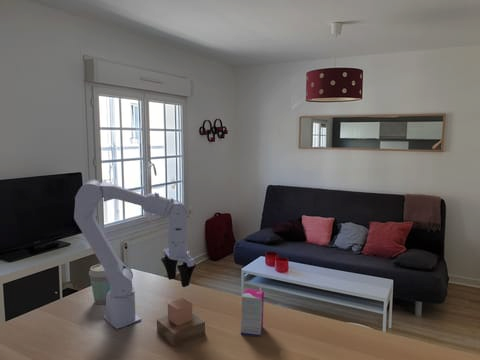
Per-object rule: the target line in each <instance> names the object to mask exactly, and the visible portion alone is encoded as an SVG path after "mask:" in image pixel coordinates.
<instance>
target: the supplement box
mask: <svg viewBox="0 0 480 360" xmlns="http://www.w3.org/2000/svg"><path fill="white" fill-rule="evenodd" d="M264 299H265V291H264V290H262V289H261V290H259V289H252V288H251V289H250V288H246V289H245V290H244V292H243V294H242V296H241V316H240V317H241V319H240V320H241V321H240V335H241V336H252V337H261V333H262V330H263V328H264V303H265V302H264Z"/></svg>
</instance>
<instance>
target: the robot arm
mask: <svg viewBox="0 0 480 360" xmlns="http://www.w3.org/2000/svg"><path fill="white" fill-rule="evenodd" d="M102 199H103V202H104V203H105V202H108V201H113V200H117V201H121V202H126V203H130V204H134V205H137V206H141V207H142V210H143V211H144V212H146V213H148V214H152V215H154V216H158V217H163V218H168V226H167V236H168V238H167V241H168V243H167V244H168V246H167V248H164V249H162V255H163V256H164V257H161V258H160V261H161V262H162V264H163V266H164V268H165V271H166V274H167V278H168V280H169V281H170V280H174V279H176V276H177V270H178V272H179V276H180V283H181V287H183V288H185V287H189V286H190V282H191V277H192V274H193V272H194V270H195V268H196V266H197V264H196V263H195V259H194V258H193V257H192V256H191V252H190V251H188V226H187V218H188V215H189V212H188V210H187V207H186V206H185V204H184V203H183V202H182V201H179V200H178V199H174V198H172V197H171V198H170V199H169V198H166V197H164V196H161V195H160V193H158V192H154V193H152V192H151V193H148V194H146V195H144V194H141V193H139V192H135V191H133V190H130V189H127V188H125V187H122V186H119V185H116V184H113V183H111V182H107V181H99V180H98V179H88V180H87V181H85V183H84V184H83V185H82V186H80V188H79V189H78V191H77V192H76V195H75V197H74V214H73V219H74V221H75V223H76V225H77V226H78V228H79V229H80V231H81V233H82V235H83V236H84V238H85V239H86V241H87V243H88V244H89V247H90V248H91V249H92V252H93V253H94V255H95V257H96V258H97V259H98V261H99V264H102V266H103V268H104V269H105V273H106V277H107V280H108V281H109V284H110V291H109V292H108V293H107V296H106V304H105V305H106V306H105V309H106V315H104V316H103V318H104V320H106V321H107V322H108V323H109V324H110V325H111V326H113V327H114V328H115V329H117V330H118V329H119V330H120V328H123V327H124V328H125V327H126V326H128V325H133V324H135V323H137V322H140V321H142V318H141V317H139V316H138V315H137V314H136V298H135V297H136V295H135V291H136V290H135V288H134V287H133V278H134V273H133V271H132V269H130V268H129V267H128V266H126V265H125V263H124V262H123V261H122V260H121V259H120V258H119V257H118V255H117V252H116V251H115V250H114V247H113V246H112V244H111V243H110V241H109V239H108V238H107V236H106V234H105V232H104V231H103V229H102V228H101V225H100V224H99V222H98V220H97V219H96V216H95V214H94V213H95V211H96V208H97V206H98V204H99V203H100V201H101V200H102ZM178 262H180V263H182V264H180V265H179V264H178Z"/></svg>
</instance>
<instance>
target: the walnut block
mask: <svg viewBox="0 0 480 360" xmlns="http://www.w3.org/2000/svg"><path fill="white" fill-rule="evenodd" d="M156 332H157V333H159V334H160V335H161V336H162V337H163V338H164V339H165V340H166V341H168V342H169V343H170V344H171V345H172V346H174V347H176V346H179V345H181V344H183V343H186V342H188V341H191V340H193V339H196V338H199V337H201V336H203V335H205V334H206V322H205V321H204V320H203V319H202V318H200V317H199V316H197V315H195V314H194V313H193V312H192V320H191V321H189V322H186V323H184V324H181V325H179V326H177V325H176V324H174V323H173V322H171V321H169V320H168V315H166V316H163V317H160V318H158V319H156Z"/></svg>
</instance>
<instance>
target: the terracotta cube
mask: <svg viewBox="0 0 480 360" xmlns="http://www.w3.org/2000/svg"><path fill="white" fill-rule="evenodd" d="M192 313H193V303H192V302H191V301H189V300H187V299H185V298H183V297H180V298H178V299H175V300H172V301H170V302H167V316H168V320H169V321H171V322H173V323H174V324H176V325H177V326H179V325H181V324H184V323H186V322H189V321H191V320H192Z"/></svg>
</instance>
